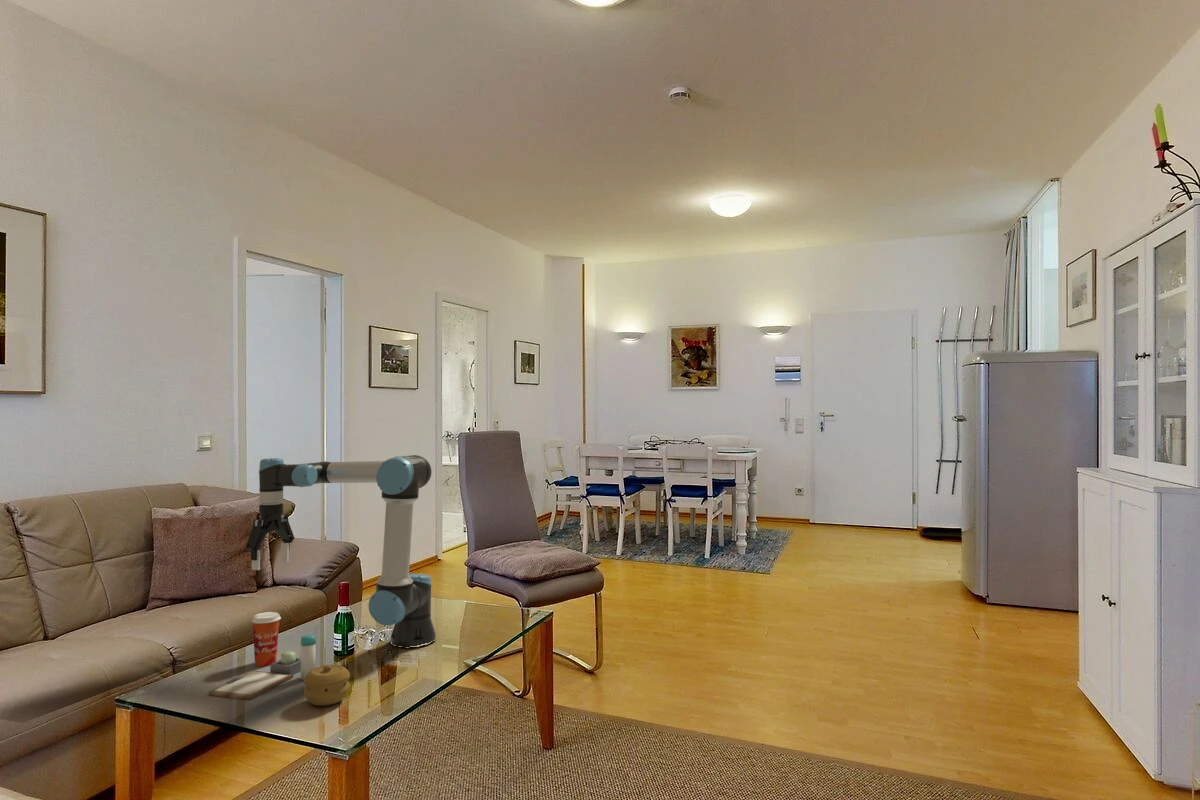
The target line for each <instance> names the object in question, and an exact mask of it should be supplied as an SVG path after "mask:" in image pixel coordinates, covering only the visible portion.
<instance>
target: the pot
mask: <svg viewBox="0 0 1200 800" xmlns="http://www.w3.org/2000/svg"><path fill="white" fill-rule="evenodd" d="M350 678H351V673H350V671H349V670H348V669H347V668H346V667H344V666H342V665H341V664H324V665H320V666H317V667H315V668H314V669H313V670H311V671H310V672H309V673H308V674H307V675H306V677H305V679H304V680H303V683H304V685H305V687H304V689H303V695H304V697H305V699H307V701H308V702H309V703H310V704H312V705H313V706H320V707H323V706H324V707H325V706H330V705H334V704H335V705H336V704H338V703H339V702H341V701H342V700H344V698H345V697H346V696H347V694H348V693H349V691H350V688H351V683H350V682H349V679H350Z"/></svg>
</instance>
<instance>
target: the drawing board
mask: <svg viewBox="0 0 1200 800" xmlns="http://www.w3.org/2000/svg"><path fill="white" fill-rule="evenodd" d="M293 678H294V675H288V674H279V673H271V672H269V671H259V670H252V671H250V672H248V673H246V674H244V675H237V676H236V677H234V678H232V679H230V680H228V681H226V683H225V684H222V685H220V686H218V687H216V688H214V689H211V690H210V691H208V695H209V696H217V697H224V698H231V699H239V700H247V701H251V700H254V699H256V698H257V697H259V696H261V695H263V694H265V693H267V692H269V691H271V690H272V689H275V688H277V687H278V686H280V685H281V684H284V683H286V682H287V681H289V680H292V679H293Z"/></svg>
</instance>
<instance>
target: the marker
mask: <svg viewBox="0 0 1200 800" xmlns="http://www.w3.org/2000/svg"><path fill="white" fill-rule="evenodd" d="M316 643H317V636H316V635H315V634H305V635H302V636H301V637H300V658H301V671H300V680H303V681H304V679H305V677H306V675H307V674H308V673H309V672H310V671H311V670H313V669H314V668H316V645H317V644H316Z"/></svg>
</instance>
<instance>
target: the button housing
mask: <svg viewBox="0 0 1200 800" xmlns="http://www.w3.org/2000/svg"><path fill="white" fill-rule="evenodd" d="M269 666H270V668H269V669H270V670H269V671H270V672H271V673H279V674H288V675H293V676H294V675H296V674H297V673H298V674H299V673H301V657H296V660H295V663H293V664H290V665H285V664H281V659H279V660H276V662H274V663H272V664H270V665H269Z"/></svg>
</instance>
